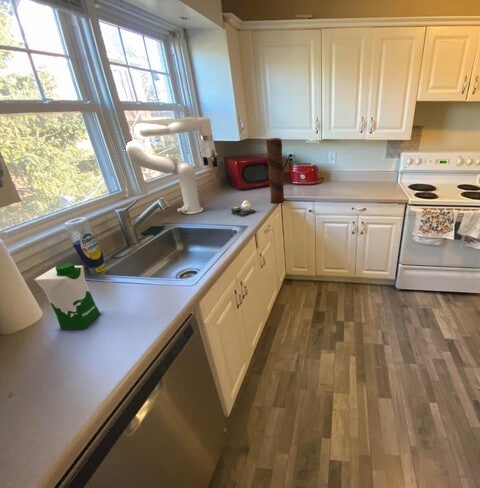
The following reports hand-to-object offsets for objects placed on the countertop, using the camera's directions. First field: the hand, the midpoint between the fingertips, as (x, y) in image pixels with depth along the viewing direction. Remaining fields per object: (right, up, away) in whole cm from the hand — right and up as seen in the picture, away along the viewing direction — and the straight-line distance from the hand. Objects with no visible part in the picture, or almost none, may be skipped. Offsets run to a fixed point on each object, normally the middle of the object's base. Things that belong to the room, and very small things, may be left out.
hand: (210, 166), depth 184 cm
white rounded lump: (+23, -29, +1) cm, 38 cm away
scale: (+22, -31, +1) cm, 38 cm away
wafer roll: (+40, -20, +25) cm, 52 cm away
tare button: (+17, -29, -1) cm, 33 cm away
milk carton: (-1, -76, -97) cm, 123 cm away
